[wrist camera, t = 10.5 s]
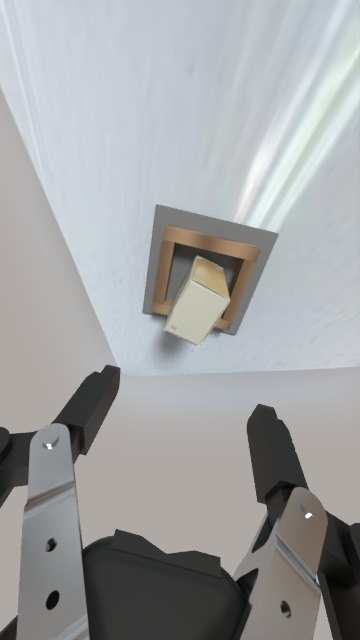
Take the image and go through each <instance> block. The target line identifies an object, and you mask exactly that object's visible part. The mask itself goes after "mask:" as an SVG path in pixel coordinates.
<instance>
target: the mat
mask: <svg viewBox="0 0 360 640" xmlns="http://www.w3.org/2000/svg"><path fill="white" fill-rule="evenodd" d="M167 225H171V226H175V227H179V228H183V229H188V230H192V231H196V232H200V233H204V234H208V235H213V236H217V237H221V238H225V239H229V240H233V241H237V242H242V243H246V244H250V245H254V246H257V247H258V248H260V249H261V251H260V254H259V256H258V259H257V261H256V264H255V266H254V269H253V271H252V274H251V276H250V279H249V282H248V284H247V287H246V289H245V292H244V294H243V297H242V299H241V302H240V304H239V307H238V309H237V312H236V314H235V317H234V319H233V322H232V324H231V327H230V329H229V330H225V329H221V328H217V327H213V330H217V331H221V332H225V333H229V334H233V335H236V333H237V331H238V329H239V326H240V324H241V322H242V319H243V317H244V314H245V312H246V310H247V307H248V305H249V303H250V300H251V298H252V296H253V293H254V291H255V289H256V286H257V284H258V281H259V279H260V277H261V274H262V272H263V270H264V267H265V265H266V263H267V260H268V258H269V256H270V253H271V251H272V248H273V246H274V244H275V241H276V239H277V237H278V233H274V232H270V231H266V230H262V229H257V228H253V227H249V226H245V225H241V224H237V223H232V222H228V221H224V220H220V219H216V218H211V217H207V216H203V215H199V214H195V213H191V212H186V211H182V210H178V209H174V208H170V207H166V206H161V205H157V204H156V209H155V217H154V225H153V233H152V241H151V249H150V257H149V265H148V274H147V282H146V290H145V298H144V306H143V312H144V313H148V314H152V315H156V316H161V317H165V318H168V315H165V314H160V313H156V312H152V308H153V302H154V295H155V289H156V282H157V275H158V269H159V262H160V256H161V249H162V242H163V236H164V229H165V226H167ZM197 254H199V255H201V256H203V257H205V258H207V259H209V260H211V261H212V262H214V263H216V264H218V265H219V266H221V267H222V268H223V271H224V275H225V280H226V284H227V288H228V293H229V290H230V287H231V284H232V282H233V279H234V276H235V273H236V270H237V267H238V265H239V262H240V259H241V258H237V257H233V256H229V255H225V254H221V253H217V252H213V251H209V250H204V249H200V248H196V247H192V246H188V245H184V244H180V243H177V244H176V250H175V255H174V260H173V266H172V271H171V277H170V282H169V287H168V293H167V299H171V300H175V298H176V295H177V293H178V290H179V288H180V286H181V283H182V281H183V279H184V277H185V275H186V273H187V271H188V269H189V267H190V266H191V264H192V262H193V260H194V258H195V256H196V255H197Z"/></svg>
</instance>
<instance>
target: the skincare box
mask: <svg viewBox="0 0 360 640" xmlns="http://www.w3.org/2000/svg"><path fill="white" fill-rule="evenodd" d="M229 303H230V297H229V293H228V288H227V284H226V280H225V275H224V271H223V268H222V267H221V266H219V265H218V264H216V263H214V262H212V261H211V260H209V259H207V258H205V257H203V256H201V255H199V254H197V255H196V256H195V258H194V260H193V262H192V264H191V266H190V267H189V269H188V271H187V273H186V275H185V277H184V279H183V281H182V283H181V286H180V288H179V290H178V293H177V295H176V298H175V300H174V303H173V305H172V308H171V310H170V313H169V315H168V318H167V320H166V323H165V326H164V328H163V330H165V331H167V332H169V333H171V334H173V335H175V336H177V337H179V338H181V339H183V340H185V341H187V342H189V343H191V344H194V345H196V346H200V345H201V344H202V343H203V341H204V340H205V339H206V337H207V336H208V335H209V333H210V332H211V330H212V329H213V327H214V326H215V324H216V323H217V321H218V320H219V318H220V317H221V315H222V314H223V312H224V310H225V309H226V307H227V306H228V304H229Z"/></svg>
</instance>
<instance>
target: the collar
mask: <svg viewBox="0 0 360 640" xmlns="http://www.w3.org/2000/svg"><path fill="white" fill-rule="evenodd" d="M177 243H180V244H184V245H188V246H192V247H196V248H200V249H204V250H209V251H213V252H217V253H221V254H225V255H229V256H233V257H237V258H241V259H240V262H239V265H238V267H237V270H236V273H235V276H234V279H233V282H232V284H231V287H230V290H229V297H230V303H229V304H228V306H227V307H226V309H225V310H224V312H223V314H222V315H221V317H220V318H219V320H218V321H217V323H216V324H215V326H214V327H217V328H221V329H225V330H229V329H230V327H231V324H232V322H233V319H234V317H235V314H236V312H237V309H238V307H239V304H240V302H241V299H242V297H243V294H244V292H245V289H246V287H247V284H248V282H249V279H250V276H251V274H252V271H253V269H254V266H255V264H256V261H257V259H258V256H259V254H260V251H261V249H260V248H258V247H257V246H254V245H250V244H246V243H242V242H237V241H233V240H229V239H225V238H221V237H217V236H213V235H208V234H204V233H200V232H196V231H192V230H188V229H183V228H179V227H175V226H171V225H167V226H165V229H164V236H163V242H162V249H161V256H160V262H159V269H158V275H157V282H156V289H155V295H154V302H153V308H152V312H156V313H160V314H165V315H169V313H170V310H171V308H172V305H173V303H174V300H171V299H167V293H168V287H169V282H170V277H171V271H172V266H173V260H174V255H175V250H176V244H177Z"/></svg>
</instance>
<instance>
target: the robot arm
mask: <svg viewBox="0 0 360 640" xmlns="http://www.w3.org/2000/svg"><path fill="white" fill-rule="evenodd" d="M119 383H120V368H119V367H115V366H111V365H106V366H105V368H104V369H103V370H102V372H101V373H98V372H94V373H92V374H90V375H89V376H88V377H86V378H85V380H84V381H83V382H82V384H81V385H80V387H79V388H78V389H77V391H76V392H75V394H74V395H73V396H72V398H71V399H70V400H69V402H68V403H67V404H66V406H65V407H64V408H63V410H62V411H61V412H60V414H59V415H58V416H57V418H56V419H55V420H54V421H53V422H52V423H51V424H50V425H47V426H45V427H43V428H42V429H40V430H39V431H35V432H29V433H17V434H9V431H8V430H7V429H5V428H3V427H0V508H1V506H2V505H3V503H4V501H5V500H6V499H7V497H8V495H9V494H10V492H11V491H12V489H13V488H14V487H17V486H24V485H28V499H27V504H26V505H25V508H24V514H23V526H22V546H21V563H20V582H19V602H18V615H17V616H16V617H15V618H14V619H13V620H12V621H11V622H10V623H9V624H8V625H7V626H6V627H5V628H4V629H3V630H2V631H1V632H0V640H313V635H314V631H315V626H316V621H317V616H318V611H319V605H320V599H321V592H322V596H323V600H324V604H325V608H326V613H327V617H328V621H329V624H330V629H331V633H332V637H333V640H360V523H355V524H352V525H351V526H349V525H348V524H346V523H344V522H343V521H341V520H339V519H338V518H337V517H335V516H333V515H332V514H330V513H329V512H327V511H326V510H325V509H324V507H323V506H322V504H321V502H320V501H319V500H318V498H317V497H316V496H315V495H314V494H313V493H312V492H310V491H309V489H308V486H307V483H306V480H305V477H304V474H303V471H302V468H301V465H300V462H299V459H298V456H297V454H296V452H295V447H294V445H293V443H292V439H291V436H290V433H289V430H288V428H287V427H286V426H285V424H284V423H283V421H282V420H279V419H277V415H276V412H275V410H274V408H273V407H269V406H265V405H262V404H258V405H257V407H256V408H255V410H254V411H253V413H252V415H251V416H250V418H249V419H248V422H247V435H248V442H249V448H250V455H251V462H252V468H253V475H254V482H255V488H256V495H257V501H258V502H260V503H263V504H266V506H267V513H266V514H265V516H264V518H263V520H262V523H261V525H260V527H259V529H258V531H257V533H256V536H255V538H254V540H253V542H252V544H251V546H250V548H249V550H248V552H247V554H246V556H245V557H244V559H243V560H242V561H241V563H240V565H239V566H238V568H237V569H236V571H235V573H234V575H233V577H231V576H230V574H229V573H228V572H227V571H225V570H224V569H223V568H222V567H221V566H220V557H216V556H213V555H209V554H206V553H202V552H198V551H187V552H179V553H171V554H167V553H164V552H163V551H161V550H160V549H159V548H157V547H156V546H154V545H153V544H152V543H150V542H149V541H147V540H146V539H145V538H143V537H142V536H140V535H136V534H132V533H129V532H125V531H121V530H118V529H116V531H115V534H114V536H109V537H105V538H101V539H99V540H97V541H95V542H93V543H91V544H90V545H88V546H87V547H85V548H84V549H83V545H82V535H81V527H80V517H79V510H78V500H77V490H76V481H75V472H74V463H75V461H76V459H77V457H78V456H79V454H82V455H86V454H87V452H88V450H89V448H90V447H91V444H92V443H93V441H94V439H95V437H96V435H97V433H98V431H99V429H100V427H101V425H102V423H103V421H104V419H105V417H106V415H107V413H108V411H109V409H110V407H111V405H112V403H113V401H114V399H115V397H116V395H117V393H118V389H119ZM316 574H317V576H318V580H319V584H320V586H319V585H318V583H317V582H316ZM320 588H321V589H320Z"/></svg>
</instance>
